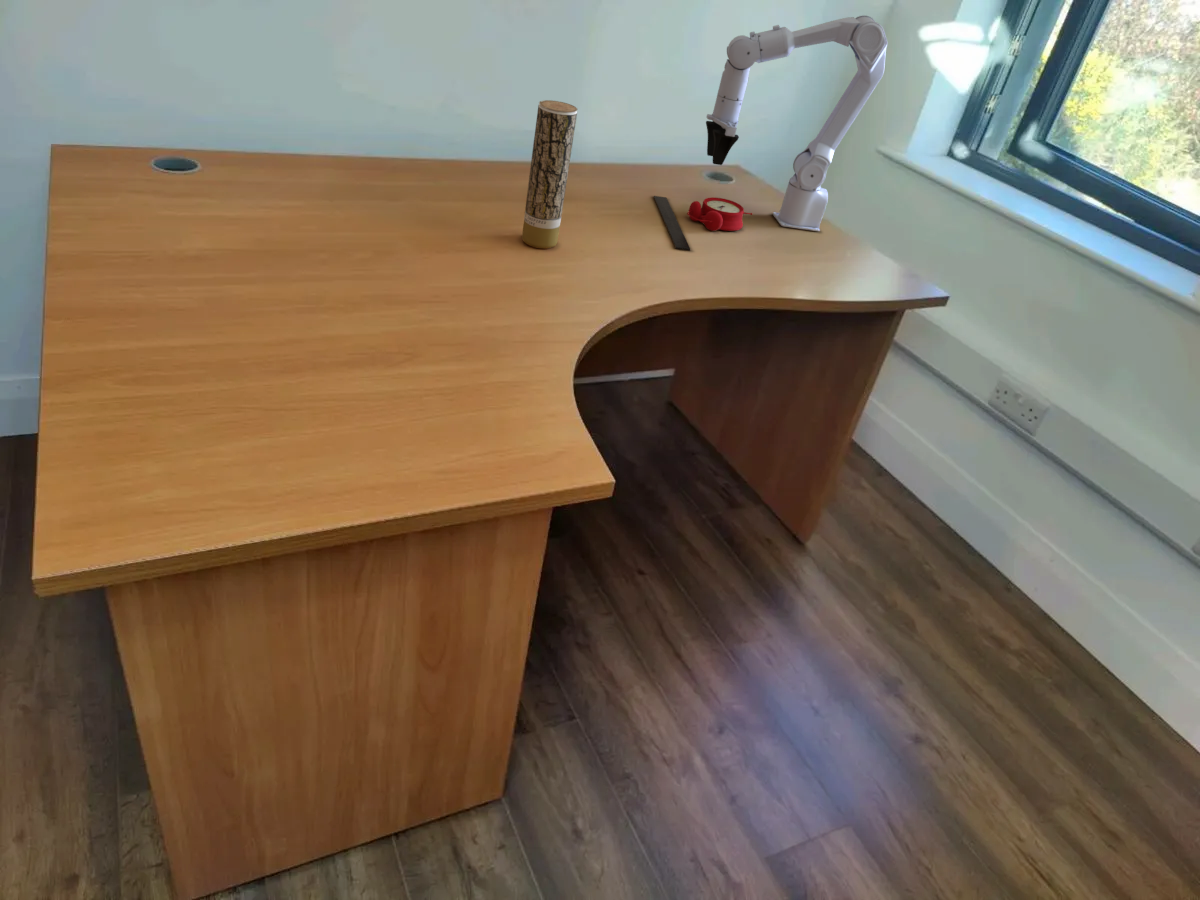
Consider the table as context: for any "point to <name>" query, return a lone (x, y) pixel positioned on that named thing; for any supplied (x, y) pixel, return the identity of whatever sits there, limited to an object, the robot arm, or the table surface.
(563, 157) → the paper tube
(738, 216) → the alarm clock
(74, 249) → the table surface
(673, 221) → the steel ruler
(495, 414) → the table surface
